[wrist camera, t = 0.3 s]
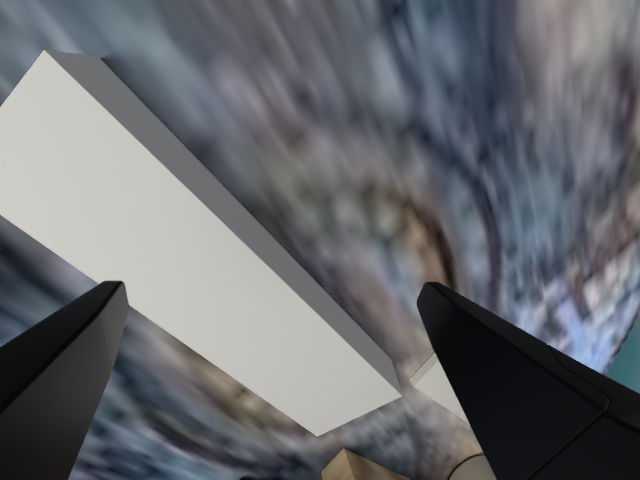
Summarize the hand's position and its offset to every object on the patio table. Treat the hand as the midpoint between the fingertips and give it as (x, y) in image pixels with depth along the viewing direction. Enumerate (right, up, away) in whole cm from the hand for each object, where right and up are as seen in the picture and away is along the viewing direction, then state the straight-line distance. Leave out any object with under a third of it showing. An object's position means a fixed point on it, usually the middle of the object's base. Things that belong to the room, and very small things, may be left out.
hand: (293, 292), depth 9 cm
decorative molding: (-6, -2, +17) cm, 18 cm away
